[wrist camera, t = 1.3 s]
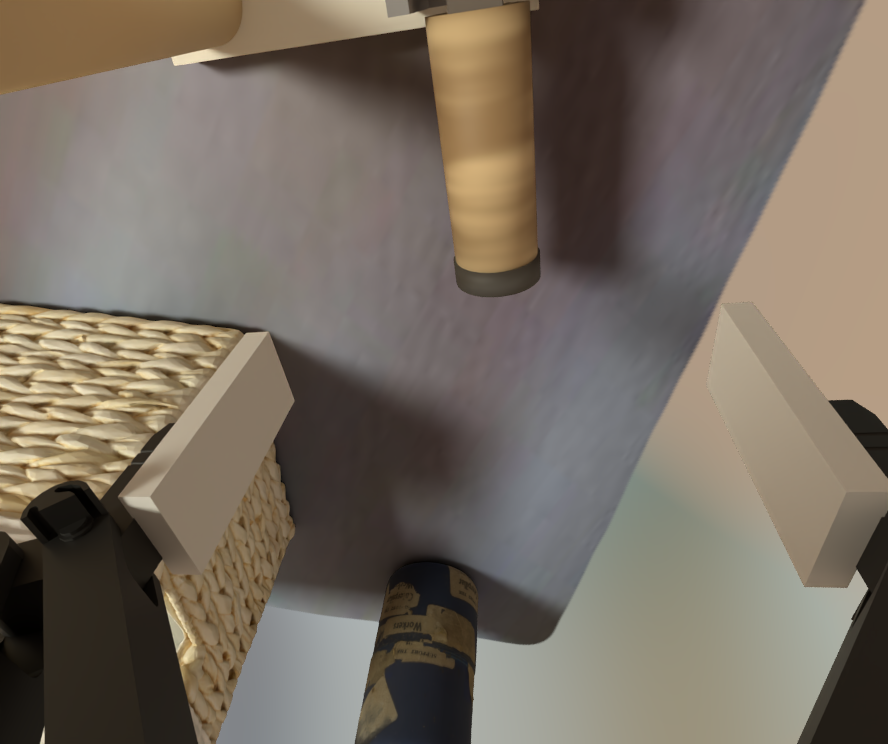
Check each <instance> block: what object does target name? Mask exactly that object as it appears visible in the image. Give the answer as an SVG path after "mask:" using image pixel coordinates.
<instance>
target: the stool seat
mask: <svg viewBox="0 0 888 744" xmlns="http://www.w3.org/2000/svg"><path fill="white" fill-rule="evenodd" d="M517 1H527V0H503V3H509V2H517ZM532 10H539V0H530V11H532ZM447 12H448V10H447V0H0V95H1V94H6V93H10V92H15V91H19V90H24V89H28V88H33V87H37V86H42V85H47V84H51V83H56V82H60V81H65V80H69V79H74V78H78V77H83V76H87V75H92V74H96V73H101V72H105V71H110V70H115V69H119V68H124V67H128V66H133V65H137V64H142V63H146V62H151V61H155V60H160V59H164V58H169V57H171V58H172V60H173V63H174V66H177V65H183V64H190V63H196V62H203V61H209V60H216V59H222V58H229V57H235V56H242V55H248V54H255V53H261V52H267V51H274V50H280V49H287V48H293V47H300V46H306V45H313V44H319V43H326V42H332V41H339V40H345V39H351V38H358V37H364V36H371V35H377V34H384V33H390V32H397V31H403V30H410V29H416V28H423V27H426V25H425V17H427V16H431V15H436V14H441V13H447Z"/></svg>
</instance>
